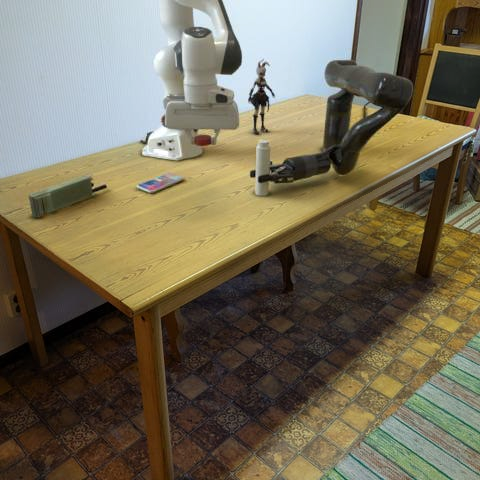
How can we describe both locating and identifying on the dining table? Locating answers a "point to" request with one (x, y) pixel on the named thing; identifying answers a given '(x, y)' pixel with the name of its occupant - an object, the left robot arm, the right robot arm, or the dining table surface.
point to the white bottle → (262, 166)
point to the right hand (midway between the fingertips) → (254, 177)
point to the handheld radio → (62, 195)
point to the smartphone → (159, 182)
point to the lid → (203, 140)
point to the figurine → (260, 96)
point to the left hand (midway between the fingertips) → (203, 144)
